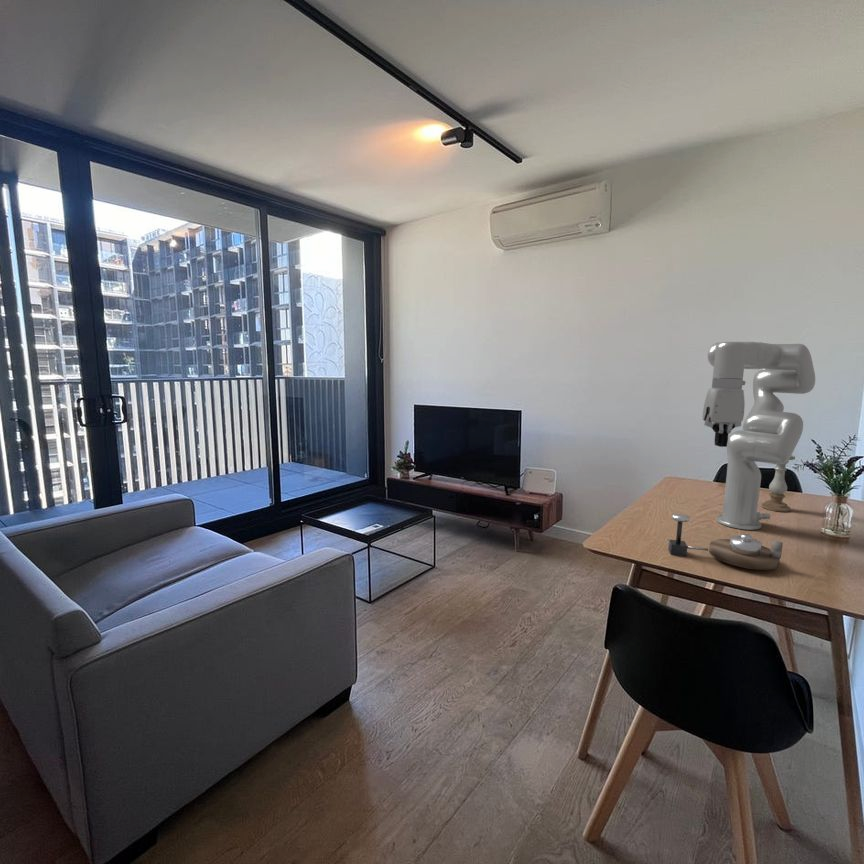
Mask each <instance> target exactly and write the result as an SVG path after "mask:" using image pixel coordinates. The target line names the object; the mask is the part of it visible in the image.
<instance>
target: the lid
mask: <svg viewBox="0 0 864 864" xmlns="http://www.w3.org/2000/svg"><path fill="white" fill-rule="evenodd" d="M752 537H753V536H752V535H750V534H749V533H741V534H740V535H734V536H733V535H732V536H730V538H729V539H730V547H729V549H730V550H731V551H732V552H734V553H737V554H740V555H744V556H751V557H755V556H759V555H760V552H761V546H762V544H763V543H762V542H761V541H760V540H758V539H755V538H752Z"/></svg>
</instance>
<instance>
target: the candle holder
mask: <svg viewBox="0 0 864 864" xmlns="http://www.w3.org/2000/svg"><path fill="white" fill-rule="evenodd" d="M795 459H796V457H795V455H791V457H790V459H789V460H788V461H787V462H786V463H784V464H775V465H776V466H775V467H774V468H773V469H774V470H775V473H774V477H773V479H772V480H771V482H770V483H769V485H768V488H769V491H770V493H769V495H768V496H770V500H769V499H768V500H765V501H764V502H762V503H761V508H763V509H765V510H769V511H773V512H779V513H787V512H788V511H789V512H790V511H791V507H790V506H788V504H787V503H786V502H784V501H783V499H784V498H786V495H785V493H786V492H787V491H788V485H787V483H786V480H785V476H786V475H785V474H786V471H787V470H788V469H787V467H786V465H787V464H788V463H789V462H790V461H794V460H795Z"/></svg>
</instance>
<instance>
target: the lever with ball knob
mask: <svg viewBox="0 0 864 864" xmlns="http://www.w3.org/2000/svg"><path fill="white" fill-rule="evenodd" d="M671 520H673V521H676V522H677V525H676V538H675V539H668V546H667V547H668V549H667V550H668V552H669V553H670V555H672V556H678V557H679V556H680V557H686V558H687V555H688V549H690V550H698V551H707V552H709V548H704V547H699V546H688V544H687V543H686V541H685V540H682V531H683V524H684V523H688V522H690V516H689V515H688V514H683V513H676V512H675V513H674V512H673V513H672V514H671Z"/></svg>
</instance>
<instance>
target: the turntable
mask: <svg viewBox="0 0 864 864" xmlns="http://www.w3.org/2000/svg"><path fill="white" fill-rule="evenodd" d="M729 547H730V538H720V539H714V540H712V541H710V543H709V548H708V552H709V553H710V555H711V556H712V557H714V559H717V560H719V561H721V562H723V563H727V564H729V565H731V566H735V567H740V568H743V569H750V570H755V571H756V570H758V571H759V570H760V571H762V570H763V571H769V570H775V569H777V568H779V566H780V560H781V558H782V553H783V547H784V544H783V542H782V541H780V540H771V544H770V548H768V547H766V546H763V545H761V552H760V555H759V556H755V557H751V556H744V555H740V554H737V553H734V552H732V551H731V550H730V549H729Z"/></svg>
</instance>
